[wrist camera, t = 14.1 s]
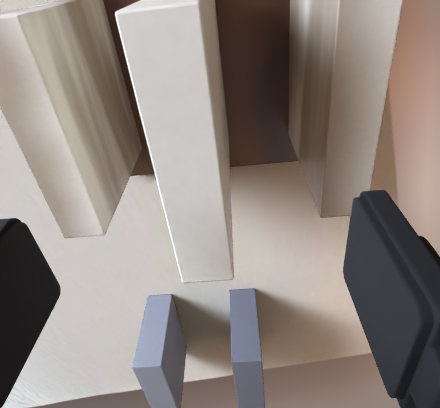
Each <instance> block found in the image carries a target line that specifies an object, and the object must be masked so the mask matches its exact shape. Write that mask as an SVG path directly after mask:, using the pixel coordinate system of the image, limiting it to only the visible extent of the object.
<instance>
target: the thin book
mask: <svg viewBox="0 0 440 408" xmlns="http://www.w3.org/2000/svg"><path fill="white" fill-rule="evenodd" d="M115 17H116V21H117V25H118V29H119V33H120V37H121V41H122V45H123V49H124V53H125V57H126V61H127V65H128V69H129V73H130V77H131V81H132V85H133V89H134V93H135V97H136V101H137V105H138V109H139V113H140V117H141V121H142V125H143V129H144V133H145V137H146V140H147V144H148V148H149V152H150V156H151V160H152V164H153V168H154V172H155V176H156V180H157V184H158V188H159V192H160V196H161V200H162V204H163V208H164V212H165V216H166V220H167V224H168V228H169V232H170V236H171V240H172V244H173V248H174V252H175V256H176V260H177V264H178V268H179V272H180V276H181V280H182V282H183V283H192V282H207V281H221V280H233V278H234V267H233V240H232V213H231V186H230V159H229V137H228V127H227V117H226V106H225V96H224V86H223V76H222V66H221V56H220V46H219V36H218V26H217V16H216V5H215V0H140V1H137V2H135V3H133V4H131V5H129V6H127V7H124V8H122V9H120V10H118V11H116V12H115Z"/></svg>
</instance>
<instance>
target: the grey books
mask: <svg viewBox="0 0 440 408" xmlns="http://www.w3.org/2000/svg"><path fill="white" fill-rule="evenodd" d="M230 320H231V362H232V369H233V375H234V381H235V387H236V393H237V399H238V406H239V408H265V400H264V383H263V367H262V354H261V344H260V335H259V325H258V315H257V305H256V295H255V289H241V290H230ZM186 348H187V345H186V342H185V338H184V335H183V331H182V328H181V324H180V321H179V317H178V314H177V310H176V307H175V303H174V300H173V296H172V294H168V295H153V296H148V298H147V302H146V307H145V311H144V316H143V320H142V325H141V329H140V334H139V338H138V343H137V347H136V352H135V356H134V361H133V365H132V369H133V371H134V373H135V375H136V377H137V379H138V381H139V383H140V385H141V387H142V389H143V391H144V393H145V396H146V398H147V400H148V402H149V404H150V406H151V408H181V401H182V391H183V380H184V369H185V358H186Z"/></svg>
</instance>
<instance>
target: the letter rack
mask: <svg viewBox="0 0 440 408" xmlns="http://www.w3.org/2000/svg"><path fill="white" fill-rule="evenodd" d="M137 1H140V0H56V1H52V2H47V3H43V4H38V5H34V6H30V7H25V8H21V9H16V10H12V11H8V12H3V13H0V108H1V110H2V112H3V114H4V116H5V118H6V120H7V122H8V124H9V126H10V128H11V130H12V132H13V135H14V137H15V139H16V141H17V143H18V145H19V147H20V149H21V151H22V153H23V155H24V157H25V159H26V161H27V163H28V165H29V167H30V169H31V171H32V173H33V175H34V177H35V179H36V181H37V183H38V185H39V187H40V189H41V191H42V193H43V195H44V197H45V200H46V202H47V204H48V206H49V208H50V210H51V212H52V214H53V216H54V218H55V220H56V222H57V224H58V226H59V228H60V230H61V232H62V234H63V236H64V238H73V237H86V236H98V235H105V233H106V231H107V229H108V226H109V224H110V222H111V219H112V217H113V215H114V212H115V210H116V208H117V205H118V203H119V201H120V199H121V196H122V194H123V192H124V189H125V187H126V185H127V182H128V180H129V178H130V176H135V175H146V174H155V172H154V168H153V164H152V160H151V156H150V152H149V148H148V144H147V140H146V137H145V133H144V129H143V125H142V121H141V117H140V113H139V109H138V105H137V101H136V97H135V93H134V89H133V85H132V81H131V77H130V73H129V69H128V65H127V61H126V57H125V53H124V49H123V45H122V41H121V37H120V33H119V29H118V25H117V21H116V17H115V12H116V11H118V10H120V9H122V8H124V7H127V6H129V5H131V4H133V3H135V2H137ZM402 4H403V0H215V5H216V16H217V26H218V36H219V46H220V56H221V66H222V76H223V86H224V96H225V106H226V117H227V127H228V137H229V159H230V167H234V166H245V165H256V164H267V163H278V162H289V161H299V163H300V165H301V168H302V171H303V173H304V176H305V178H306V181H307V183H308V186H309V189H310V191H311V194H312V196H313V199H314V202H315V204H316V207H317V209H318V212H319V214H320V217H321V218H323V217H336V216H349V215H351V210H352V203H353V199H354V198H355V197H359V196H360V194H361V192H362V191H369V190H370V184H371V179H372V173H373V168H374V162H375V156H376V151H377V145H378V139H379V134H380V128H381V123H382V117H383V111H384V106H385V100H386V94H387V89H388V83H389V78H390V71H391V66H392V61H393V55H394V49H395V44H396V38H397V32H398V26H399V21H400V15H401V10H402Z"/></svg>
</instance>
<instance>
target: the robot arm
mask: <svg viewBox="0 0 440 408" xmlns="http://www.w3.org/2000/svg"><path fill="white" fill-rule="evenodd" d="M343 273H344V279H345V282H346V284H347V287H348V290H349V292H350V295H351V298H352V300H353V303H354V306H355V308H356V311H357V314H358V316H359V319H360V322H361V324H362V327H363V330H364V332H365V335H366V338H367V340H368V343H369V345H370V348H371V351H372V353H373V356H374V359H375V361H376V364H377V367H378V369H379V372H380V375H381V377H382V380H383V383H384V385H385V388H386V390H387V393H388V394H389V396H390V397H391V398H397V400H398V402H399V405H400V407H401V408H440V256H439V255H438V254H437V252H436V251H435V250H434V248H433V247H432V246H431V244H430V243H429V242H428V241H427V240H426V239H425V238H424V237H422V236H418V235H417V233H416V232H415V231H414V229H413V228H412V226H411V225H410V224H409V222H408V221H407V219H406V218H405V217H404V215H403V214H402V212H401V211H400V210H399V208H398V207H397V205H396V204H395V203H394V201H393V200H392V198H391V197H390V196H389V194H388V193H387V192H386V191H385V190H374V191H362V192H361V194H360V196H359V197H355V198H354V199H353V203H352V210H351V217H350V224H349V231H348V238H347V245H346V253H345V260H344V267H343ZM59 296H60V285H59V283H58V281H57V279H56V278H55V276H54V274H53V272H52V270H51V268H50V267H49V265H48V263H47V261H46V259H45V257H44V256H43V254H42V252H41V250H40V248H39V246H38V245H37V243H36V241H35V239H34V237H33V235H32V234H31V232H30V230H29V228H28V226H27V225H26V224H25V223H22V222H21V221H20V220H19V219H16V218H11V219H0V408H1V407H2V406H3V405H4V403H5V401H6V399H7V397H8V396H9V394H10V392H11V390H12V388H13V386H14V384H15V382H16V380H17V378H18V376H19V374H20V372H21V370H22V368H23V366H24V364H25V362H26V361H27V359H28V357H29V355H30V353H31V351H32V349H33V347H34V345H35V343H36V341H37V339H38V337H39V335H40V333H41V331H42V329H43V327H44V326H45V324H46V322H47V320H48V318H49V316H50V314H51V312H52V310H53V308H54V306H55V304H56V302H57V300H58V298H59Z"/></svg>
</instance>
